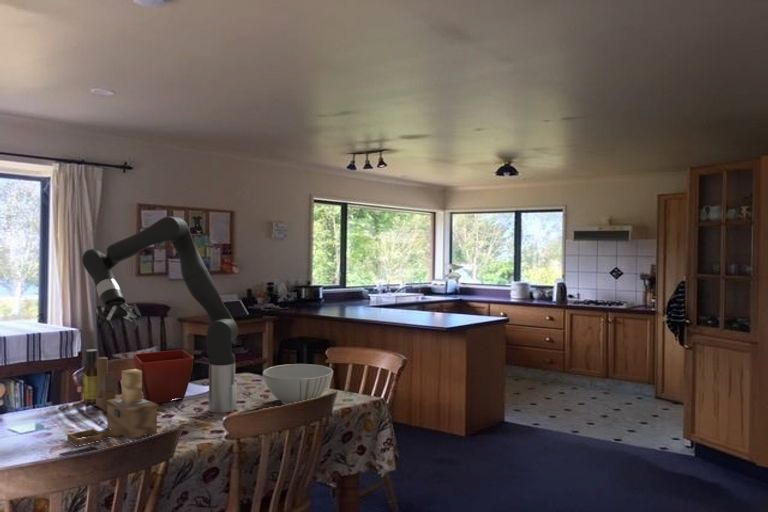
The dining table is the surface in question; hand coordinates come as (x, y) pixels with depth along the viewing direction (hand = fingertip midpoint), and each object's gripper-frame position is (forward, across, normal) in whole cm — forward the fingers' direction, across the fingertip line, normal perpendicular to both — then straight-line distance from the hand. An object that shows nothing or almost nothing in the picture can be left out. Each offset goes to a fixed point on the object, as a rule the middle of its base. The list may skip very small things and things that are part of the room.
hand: (124, 329), depth 213 cm
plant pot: (+12, +21, +31) cm, 40 cm away
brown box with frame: (+33, -12, +10) cm, 36 cm away
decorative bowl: (+41, +55, +2) cm, 69 cm away
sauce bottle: (+2, 0, +42) cm, 42 cm away
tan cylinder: (+26, -5, +4) cm, 27 cm away
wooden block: (+10, 0, +33) cm, 35 cm away
